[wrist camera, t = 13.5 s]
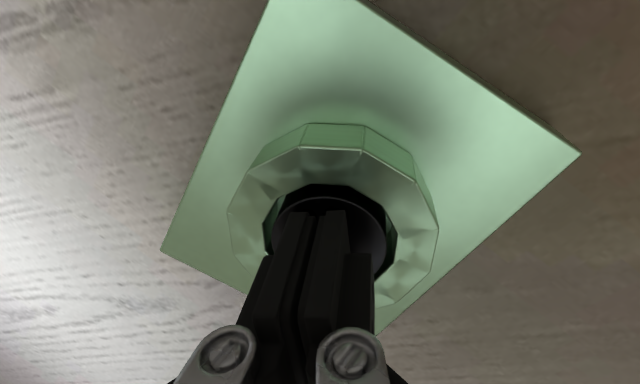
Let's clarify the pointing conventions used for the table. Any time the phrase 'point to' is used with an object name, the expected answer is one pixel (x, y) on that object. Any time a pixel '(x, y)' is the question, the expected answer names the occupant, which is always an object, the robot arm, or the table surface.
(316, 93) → the button box
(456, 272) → the table surface
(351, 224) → the button
